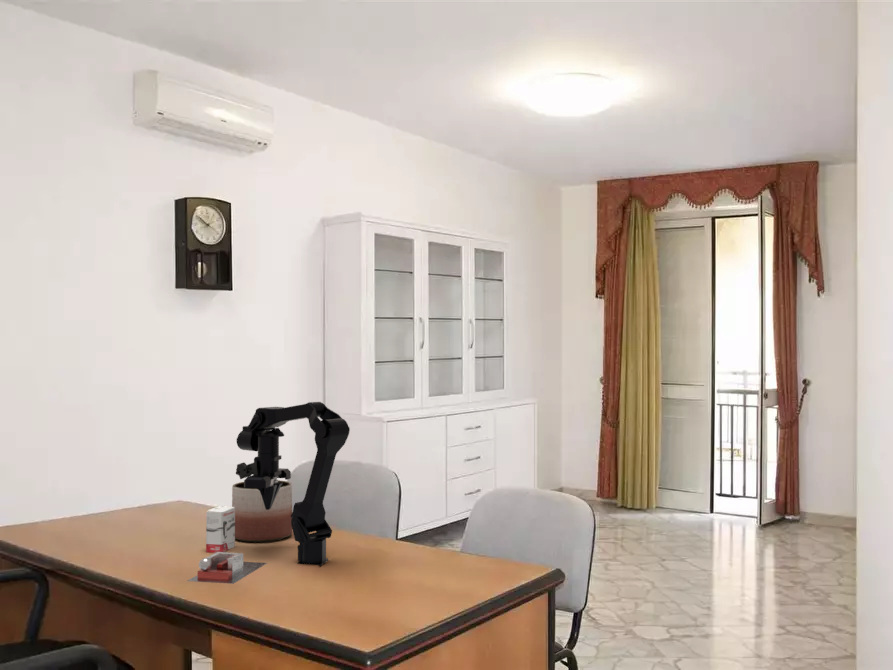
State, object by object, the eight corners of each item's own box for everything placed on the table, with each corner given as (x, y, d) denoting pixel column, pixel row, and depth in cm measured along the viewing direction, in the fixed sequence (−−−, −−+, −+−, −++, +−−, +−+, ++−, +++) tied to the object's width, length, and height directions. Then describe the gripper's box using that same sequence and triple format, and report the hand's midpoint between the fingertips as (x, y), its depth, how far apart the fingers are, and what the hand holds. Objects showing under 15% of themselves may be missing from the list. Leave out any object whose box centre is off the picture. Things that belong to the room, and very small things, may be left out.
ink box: (221, 555, 232) (221, 511, 232) (205, 554, 233) (205, 511, 233) (235, 547, 240) (235, 506, 240) (219, 547, 241) (220, 505, 241)
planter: (280, 544, 244) (280, 489, 244) (221, 542, 247) (221, 488, 247) (300, 531, 262) (300, 480, 262) (245, 529, 264) (245, 479, 265)
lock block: (243, 571, 212) (243, 553, 213) (232, 577, 207) (232, 559, 207) (217, 569, 214) (217, 551, 214) (205, 576, 208) (206, 557, 208)
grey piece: (267, 564, 221) (267, 543, 221) (233, 585, 201) (233, 562, 201) (224, 562, 223) (224, 541, 223) (186, 582, 204) (186, 559, 204)
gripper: (255, 448, 245) (254, 502, 245) (225, 456, 227) (225, 514, 226) (291, 449, 243) (291, 503, 242) (265, 457, 224) (264, 516, 224)
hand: (268, 509), depth 234 cm, fingers closed
